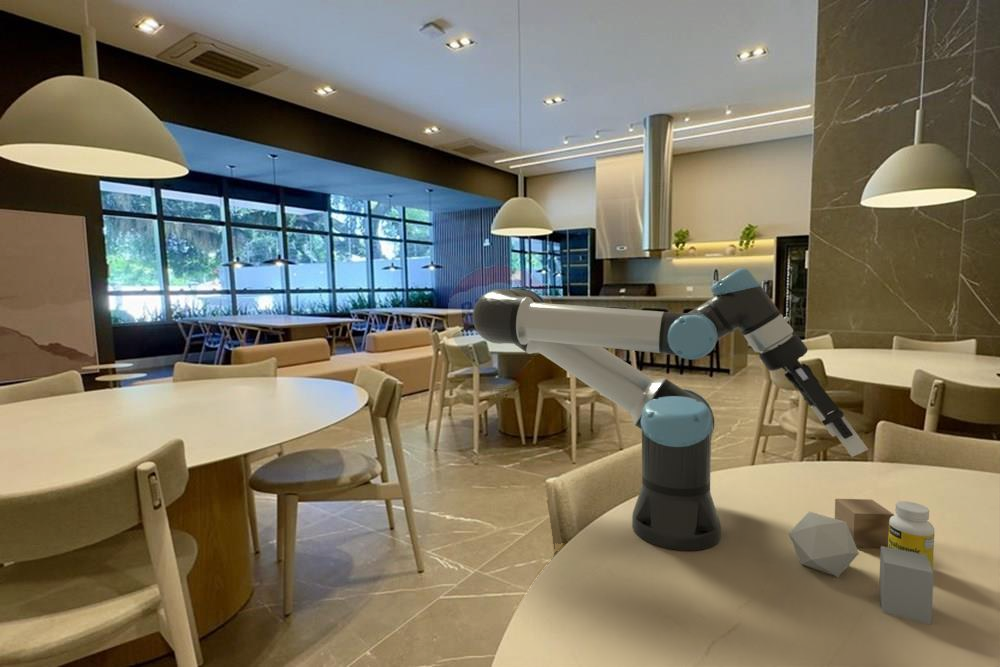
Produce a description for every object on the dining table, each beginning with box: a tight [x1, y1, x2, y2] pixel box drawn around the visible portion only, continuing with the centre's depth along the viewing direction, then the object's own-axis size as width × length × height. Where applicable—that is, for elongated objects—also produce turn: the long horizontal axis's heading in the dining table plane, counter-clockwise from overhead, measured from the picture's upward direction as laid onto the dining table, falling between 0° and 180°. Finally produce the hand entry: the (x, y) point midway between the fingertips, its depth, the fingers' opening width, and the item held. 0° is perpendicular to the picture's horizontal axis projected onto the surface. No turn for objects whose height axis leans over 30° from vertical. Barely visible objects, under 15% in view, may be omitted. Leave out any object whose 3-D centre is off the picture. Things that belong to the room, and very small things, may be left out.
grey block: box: [878, 546, 934, 625], centre depth 68 cm, size 5×5×7 cm
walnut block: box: [834, 498, 895, 550], centre depth 86 cm, size 6×6×6 cm
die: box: [788, 511, 859, 578], centre depth 78 cm, size 8×9×10 cm
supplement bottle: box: [888, 500, 935, 571], centre depth 77 cm, size 5×5×10 cm
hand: (848, 442), depth 91 cm, fingers open, 13 cm apart
